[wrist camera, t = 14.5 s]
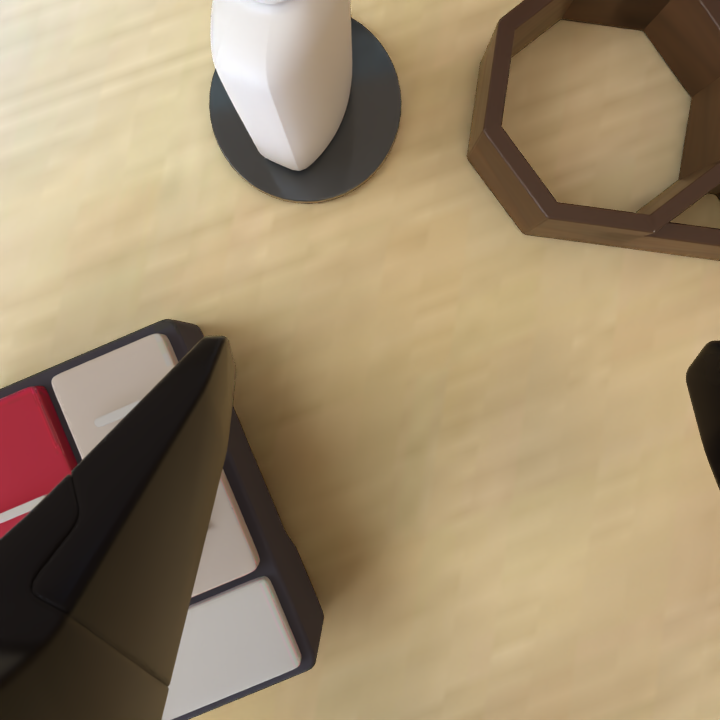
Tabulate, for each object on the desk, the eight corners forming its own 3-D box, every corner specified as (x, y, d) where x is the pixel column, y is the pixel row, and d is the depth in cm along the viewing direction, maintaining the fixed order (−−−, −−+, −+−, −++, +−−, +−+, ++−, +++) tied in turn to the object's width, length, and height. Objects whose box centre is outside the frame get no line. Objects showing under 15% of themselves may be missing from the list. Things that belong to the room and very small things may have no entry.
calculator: (164, 312, 19) (317, 680, 19) (202, 321, 23) (327, 620, 23) (-98, 424, 19) (51, 789, 19) (-12, 412, 23) (110, 709, 23)
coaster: (310, 243, 22) (309, 241, 22) (172, 111, 22) (169, 107, 22) (439, 104, 22) (441, 100, 22) (302, -31, 22) (301, -38, 21)
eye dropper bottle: (224, 107, 22) (56, -175, 10) (326, 27, 22) (284, -360, 10) (285, 188, 22) (194, 8, 10) (387, 109, 22) (420, -170, 10)
